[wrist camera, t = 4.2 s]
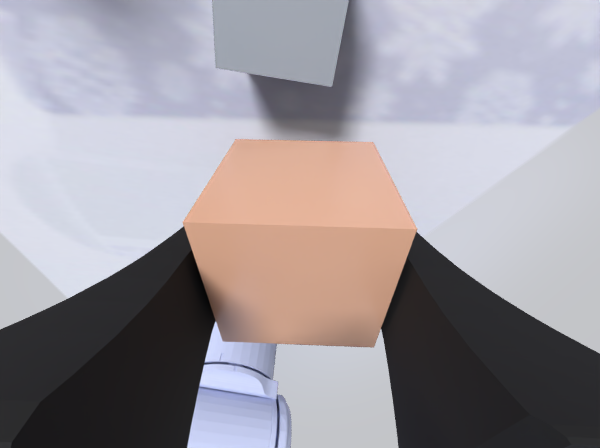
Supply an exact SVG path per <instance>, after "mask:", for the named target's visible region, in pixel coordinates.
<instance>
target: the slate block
mask: <svg viewBox="0 0 600 448" xmlns="http://www.w3.org/2000/svg"><path fill="white" fill-rule="evenodd" d="M348 2H349V0H212V8H213V27H214V45H215V64H216V68H218V69H224V70H230V71H237V72H243V73H249V74H255V75H261V76H267V77H273V78H280V79H286V80H292V81H298V82H304V83H310V84H316V85H323V86H329V87H332V85H333V80H334V75H335V69H336V64H337V59H338V54H339V49H340V44H341V38H342V33H343V28H344V23H345V18H346V13H347V8H348Z"/></svg>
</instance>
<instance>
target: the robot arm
mask: <svg viewBox="0 0 600 448" xmlns="http://www.w3.org/2000/svg"><path fill="white" fill-rule="evenodd" d="M381 329H382V334H383V338H384V344H385V350H386V356H387V363H388V369H389V376H390V383H391V390H392V397H393V404H394V412H395V420H396V428H397V436H398V446H399V448H600V354H599V353H597V352H596V351H594V350H592V349H590V348H588V347H586V346H584V345H582V344H580V343H579V342H577V341H575V340H573V339H571V338H569V337H568V336H565V335H564V334H562V333H560V332H558V331H556V330H555V329H553V328H551V327H549V326H548V325H546V324H544V323H542V322H541V321H539V320H537V319H535V318H534V317H532V316H530V315H528V314H527V313H525V312H524V311H522V310H520V309H519V308H517V307H516V306H514V305H512V304H511V303H509V302H507V301H506V300H504V299H502V298H501V297H500V296H498V295H496V294H495V293H493V292H492V291H490V290H489V289H487V288H486V287H485V286H483V285H482V284H480V283H479V282H478V281H476V280H475V279H473V278H472V277H470V276H469V275H467V274H466V273H465V272H464V271H462V270H461V269H459V268H458V267H457V266H456V265H454V264H453V263H452V262H451V261H449V260H448V259H447V258H446V257H445V256H443V255H442V254H441V253H439V252H438V251H437V250H436V249H435V248H434V247H433V246H432V245H430V244H429V243H428V242H427V241H426V240H425V239H424V238H423V237H422V236H420V235H419V234H418V233H417V232H416V234H415V237H414V239H413V242H412V245H411V248H410V250H409V253H408V256H407V258H406V261H405V264H404V267H403V269H402V272H401V275H400V278H399V280H398V283H397V286H396V289H395V291H394V294H393V297H392V299H391V302H390V305H389V308H388V310H387V313H386V316H385V319H384V321H383V324H382V327H381ZM276 346H277V344H273V343H248V342H223V341H222V338H221V335H220V332H219V329H218V326H217V323H216V320H215V317H214V314H213V311H212V308H211V305H210V302H209V299H208V296H207V293H206V290H205V287H204V284H203V281H202V278H201V275H200V272H199V269H198V266H197V263H196V260H195V257H194V254H193V251H192V248H191V245H190V243H189V240H188V237H187V234H186V231H185V228H184V227H182V228H181V229H180V230H179V231H177V232H176V233H175V234H173V235H172V236H171V237H169V238H168V239H167V240H165V241H164V242H162V243H161V244H160V245H158V246H157V247H155V248H154V249H153V250H151V251H150V252H148V253H147V254H145V255H144V256H142V257H141V258H139V259H138V260H136V261H135V262H133V263H132V264H130V265H128V266H127V267H125V268H123V269H122V270H120V271H118V272H117V273H115V274H113V275H112V276H110V277H108V278H106V279H104V280H102V281H101V282H99V283H97V284H95V285H93V286H91V287H89V288H87V289H86V290H84V291H82V292H80V293H78V294H76V295H74V296H72V297H70V298H68V299H66V300H64V301H62V302H60V303H58V304H56V305H54V306H52V307H50V308H48V309H46V310H43V311H41V312H39V313H37V314H35V315H32V316H30V317H28V318H26V319H23V320H21V321H19V322H17V323H14V324H12V325H10V326H8V327H5V328H3V329H1V330H0V448H291V414H290V409H289V407H288V405H287V403H286V400H285V398H284V397H283V396H282V395H277V389H278V382H277V381H275V380H273V373H274V364H275V354H276Z"/></svg>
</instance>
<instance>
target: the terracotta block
mask: <svg viewBox="0 0 600 448" xmlns="http://www.w3.org/2000/svg"><path fill="white" fill-rule="evenodd" d="M183 225H184V228H185V231H186V234H187V237H188V240H189V243H190V245H191V248H192V251H193V254H194V257H195V260H196V263H197V266H198V269H199V272H200V275H201V278H202V281H203V284H204V287H205V290H206V293H207V296H208V299H209V302H210V305H211V308H212V311H213V314H214V317H215V320H216V323H217V326H218V329H219V332H220V335H221V338H222V341H223V342H248V343H273V344H300V345H325V346H350V347H374V346H375V343H376V340H377V338H378V335H379V332H380V329H381V327H382V324H383V321H384V319H385V316H386V313H387V310H388V308H389V305H390V302H391V299H392V297H393V294H394V291H395V289H396V286H397V283H398V280H399V278H400V275H401V272H402V269H403V267H404V264H405V261H406V258H407V256H408V253H409V250H410V248H411V245H412V242H413V239H414V237H415V234H416V231H417V228H416V226H415V224H414V222H413V220H412V218H411V216H410V214H409V212H408V210H407V208H406V206H405V204H404V202H403V200H402V198H401V196H400V194H399V192H398V190H397V188H396V186H395V184H394V182H393V180H392V178H391V176H390V174H389V172H388V170H387V168H386V166H385V164H384V162H383V160H382V159H381V157H380V155H379V153H378V151H377V149H376V147H375V145H374V143H373V142H342V141H296V140H251V139H236V140H235V141H234V143H233V144H232V146H231V148H230V149H229V151H228V152H227V154H226V155H225V157H224V159H223V160H222V162H221V163H220V165H219V166H218V168H217V169H216V171H215V173H214V174H213V176H212V177H211V179H210V180H209V182H208V184H207V185H206V187H205V188H204V190H203V191H202V193H201V195H200V196H199V198H198V199H197V201H196V202H195V204H194V205H193V207H192V209H191V210H190V212H189V213H188V215H187V216H186V218H185V220H184V221H183Z"/></svg>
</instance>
